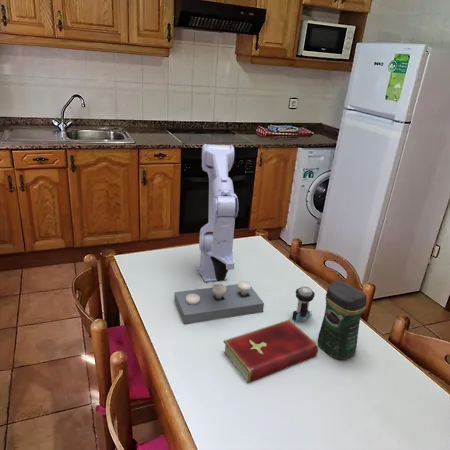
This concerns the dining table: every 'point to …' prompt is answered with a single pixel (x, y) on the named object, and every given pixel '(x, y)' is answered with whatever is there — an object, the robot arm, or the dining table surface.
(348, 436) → the dining table surface
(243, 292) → the knob
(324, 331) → the coffee jar
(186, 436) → the dining table surface
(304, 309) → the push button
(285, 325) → the hardcover book
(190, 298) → the knob
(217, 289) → the knob middle
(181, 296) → the knob panel
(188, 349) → the dining table surface
